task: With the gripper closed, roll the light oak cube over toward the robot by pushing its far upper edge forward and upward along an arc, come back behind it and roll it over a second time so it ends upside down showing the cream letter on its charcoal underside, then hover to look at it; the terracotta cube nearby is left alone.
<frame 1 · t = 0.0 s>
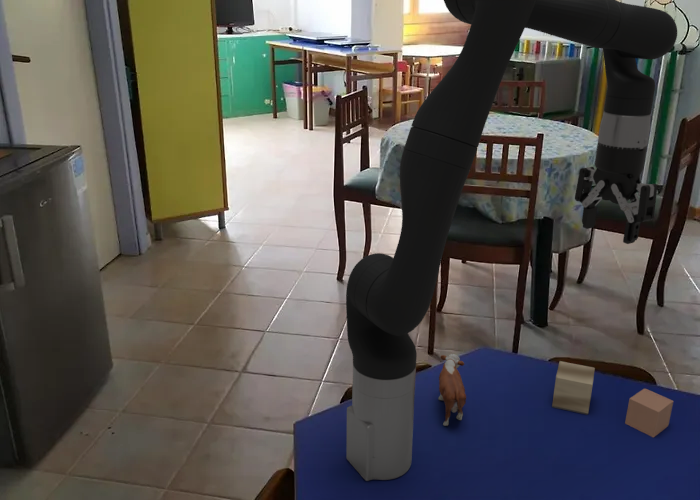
hand: (608, 235, 115), 29 cm above the table, tool pointing down, fingers open, 8 cm apart
terracotta block: (646, 425, 113), on the table
oak block: (571, 401, 119), on the table
bull figurine: (450, 409, 117), on the table
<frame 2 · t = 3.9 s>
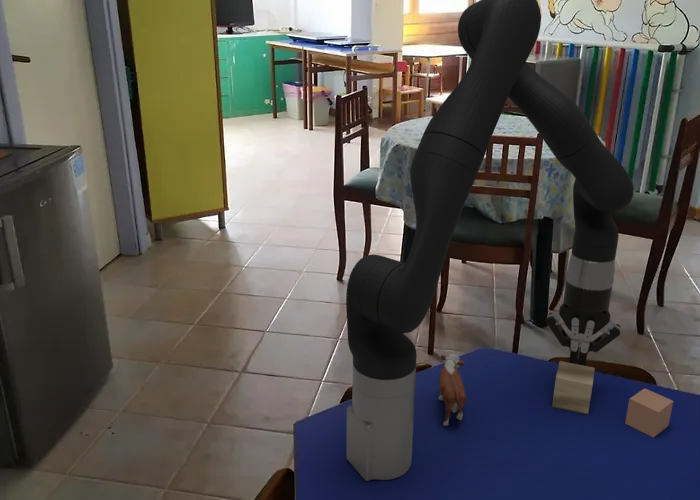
hand: (576, 367, 121), 5 cm above the table, tool pointing down, fingers closed
oak block: (571, 401, 119), on the table, touching gripper
everything else where it was.
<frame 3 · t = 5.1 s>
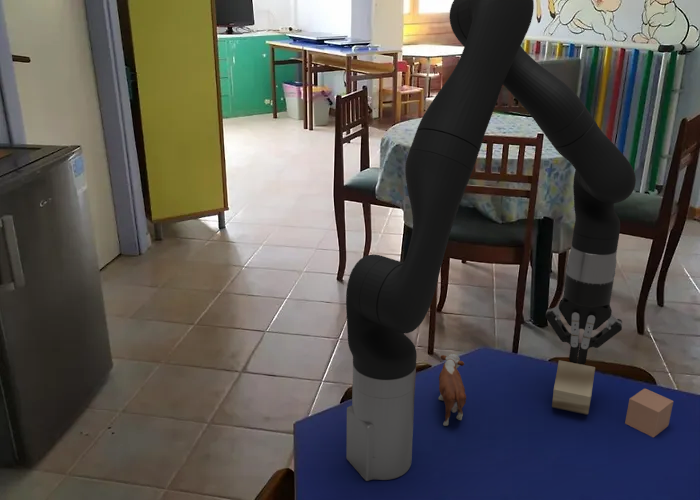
hand: (576, 364, 118), 7 cm above the table, tool pointing down, fingers closed
oak block: (572, 396, 119), point 1 cm above the table, tilted 28°, touching gripper
everything else where it was.
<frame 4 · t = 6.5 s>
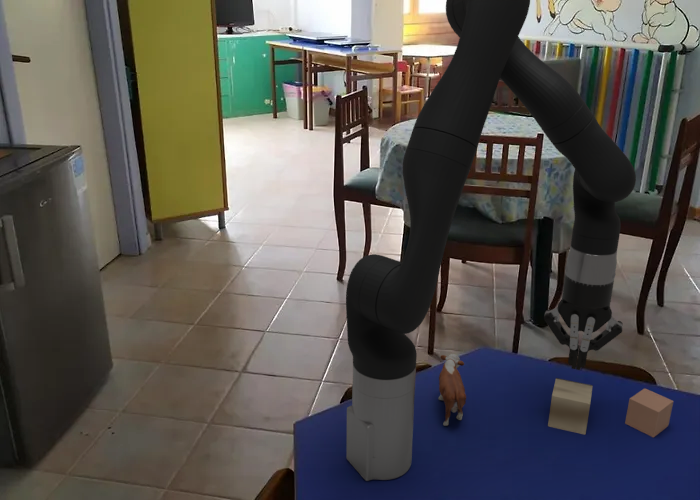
hand: (576, 367, 115), 8 cm above the table, tool pointing down, fingers closed
oak block: (571, 396, 116), point 3 cm above the table, tilted 90°
everything else where it was.
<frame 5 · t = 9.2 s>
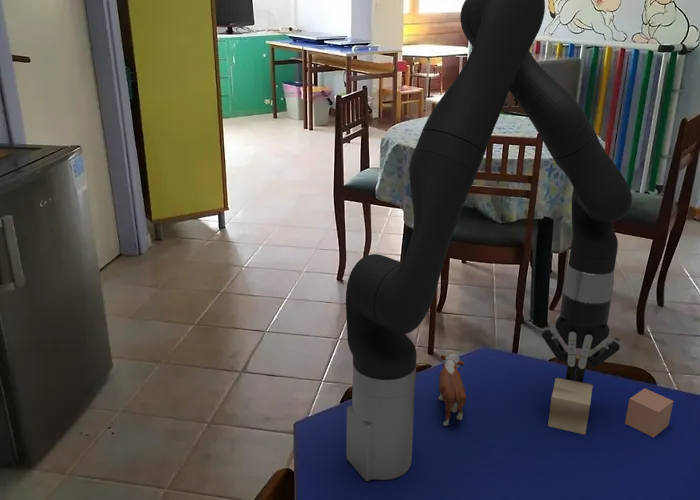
hand: (573, 383, 116), 5 cm above the table, tool pointing down, fingers closed
oak block: (572, 394, 116), point 3 cm above the table, tilted 94°, touching gripper
everything else where it was.
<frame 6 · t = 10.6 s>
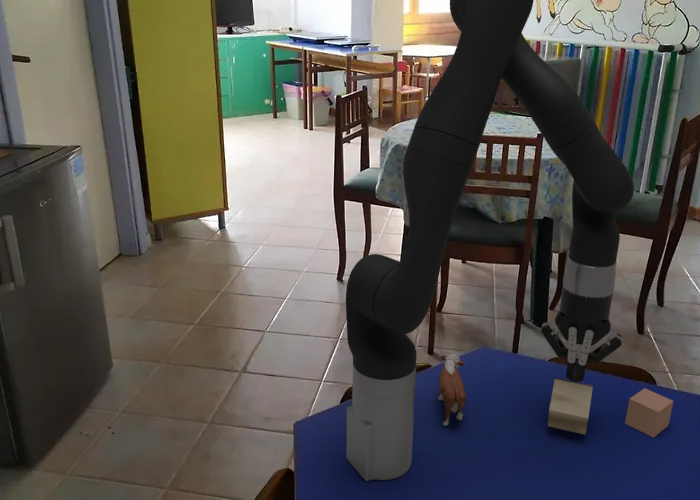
hand: (574, 380, 112), 8 cm above the table, tool pointing down, fingers closed
oak block: (572, 390, 113), point 6 cm above the table, tilted 121°, touching gripper
everything else where it was.
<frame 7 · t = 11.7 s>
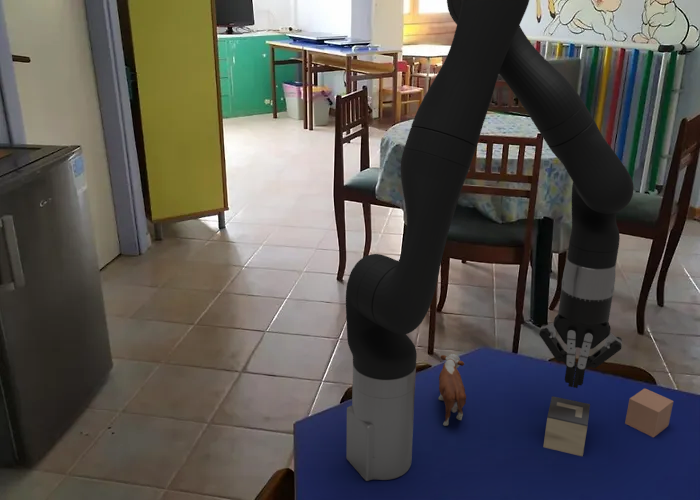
hand: (573, 384, 110), 8 cm above the table, tool pointing down, fingers closed
oak block: (569, 409, 107), point 6 cm above the table, tilted 180°
everything else where it was.
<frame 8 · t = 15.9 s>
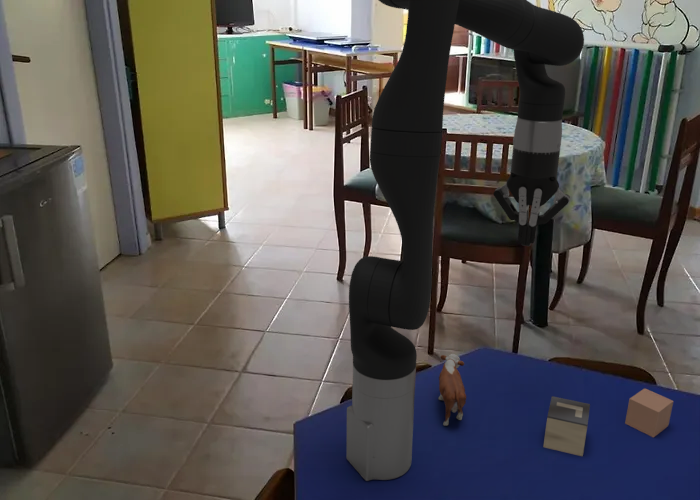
hand: (526, 244, 117), 27 cm above the table, tool pointing down, fingers closed
nothing on the table moved.
at the end: oak block tilted 180°; oak block inside the target area (0.6 cm from its centre), point 5.9 cm above the table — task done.
